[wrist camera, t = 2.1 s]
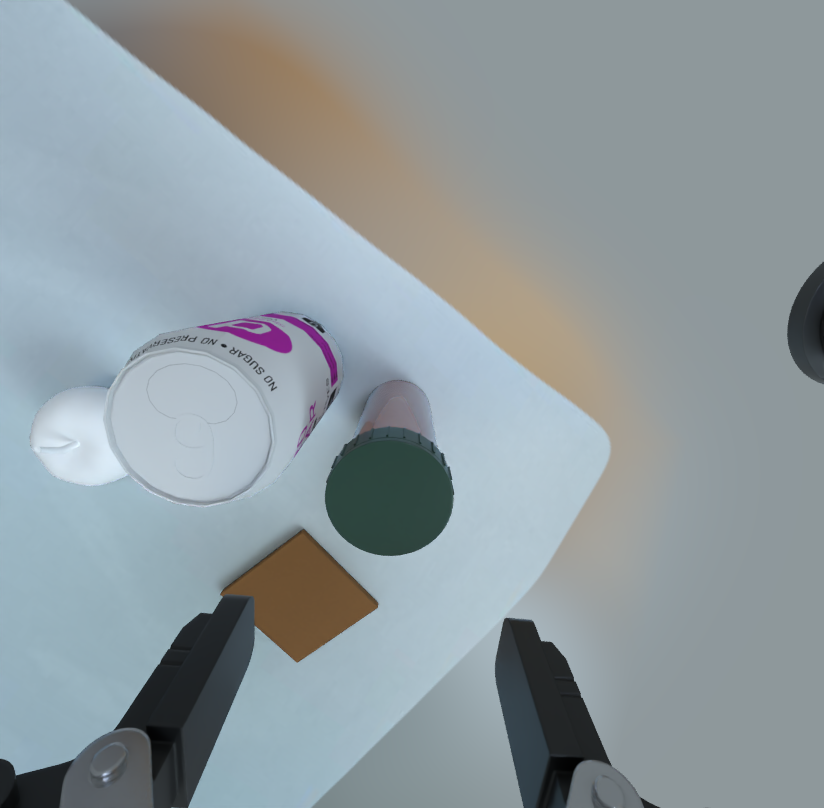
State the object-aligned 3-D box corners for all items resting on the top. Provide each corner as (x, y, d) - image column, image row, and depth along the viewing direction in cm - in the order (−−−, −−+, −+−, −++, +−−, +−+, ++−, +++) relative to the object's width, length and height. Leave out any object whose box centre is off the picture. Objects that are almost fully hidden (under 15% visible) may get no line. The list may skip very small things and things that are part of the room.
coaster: (303, 528, 35) (302, 532, 35) (378, 602, 37) (378, 607, 37) (222, 589, 37) (219, 594, 36) (298, 657, 39) (297, 663, 38)
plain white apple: (162, 372, 31) (81, 399, 24) (182, 457, 33) (113, 508, 26) (72, 378, 31) (-37, 407, 24) (97, 463, 33) (4, 515, 26)
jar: (402, 366, 31) (397, 422, 18) (443, 416, 32) (466, 502, 19) (351, 407, 32) (311, 488, 19) (393, 454, 33) (383, 561, 20)
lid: (399, 401, 19) (398, 412, 18) (474, 489, 21) (481, 509, 19) (306, 474, 20) (296, 492, 19) (383, 554, 22) (381, 578, 20)
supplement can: (239, 303, 30) (81, 317, 16) (351, 321, 30) (297, 350, 16) (235, 408, 32) (93, 505, 18) (339, 423, 33) (282, 530, 18)
